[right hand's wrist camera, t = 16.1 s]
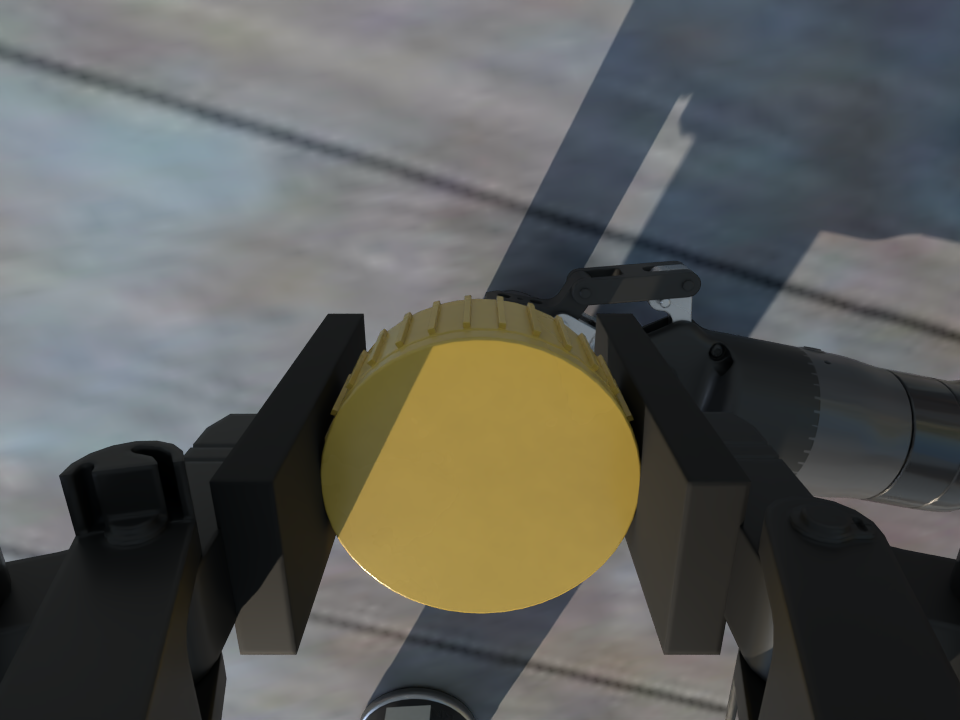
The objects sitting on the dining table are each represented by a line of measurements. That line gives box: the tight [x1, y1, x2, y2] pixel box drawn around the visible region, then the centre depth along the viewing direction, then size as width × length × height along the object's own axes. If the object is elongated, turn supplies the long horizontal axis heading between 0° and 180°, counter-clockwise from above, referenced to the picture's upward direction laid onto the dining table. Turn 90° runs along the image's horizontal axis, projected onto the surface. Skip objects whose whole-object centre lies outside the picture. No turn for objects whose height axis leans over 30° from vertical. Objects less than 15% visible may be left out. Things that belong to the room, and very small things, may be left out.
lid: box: [320, 295, 641, 613], centre depth 11 cm, size 5×5×2 cm
